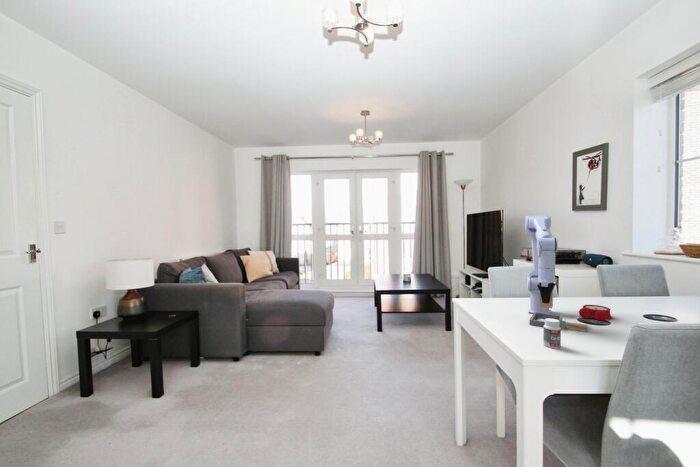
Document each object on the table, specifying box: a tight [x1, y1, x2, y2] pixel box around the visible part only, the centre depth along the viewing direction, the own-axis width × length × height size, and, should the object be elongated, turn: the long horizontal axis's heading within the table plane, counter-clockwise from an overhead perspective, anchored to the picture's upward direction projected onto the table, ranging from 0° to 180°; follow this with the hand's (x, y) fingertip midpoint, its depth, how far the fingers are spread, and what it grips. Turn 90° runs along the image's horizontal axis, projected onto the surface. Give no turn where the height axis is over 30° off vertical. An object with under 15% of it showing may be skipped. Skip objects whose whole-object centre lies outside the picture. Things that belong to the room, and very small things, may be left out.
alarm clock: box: [578, 304, 613, 322], centre depth 135 cm, size 10×6×15 cm
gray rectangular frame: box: [529, 312, 563, 329], centre depth 128 cm, size 14×10×2 cm
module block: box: [540, 290, 554, 309], centre depth 128 cm, size 4×4×6 cm
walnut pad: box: [565, 321, 589, 333], centre depth 122 cm, size 9×6×1 cm
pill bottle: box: [542, 318, 562, 349], centre depth 104 cm, size 5×5×8 cm
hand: (546, 302), depth 128 cm, fingers closed on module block, 4 cm apart
